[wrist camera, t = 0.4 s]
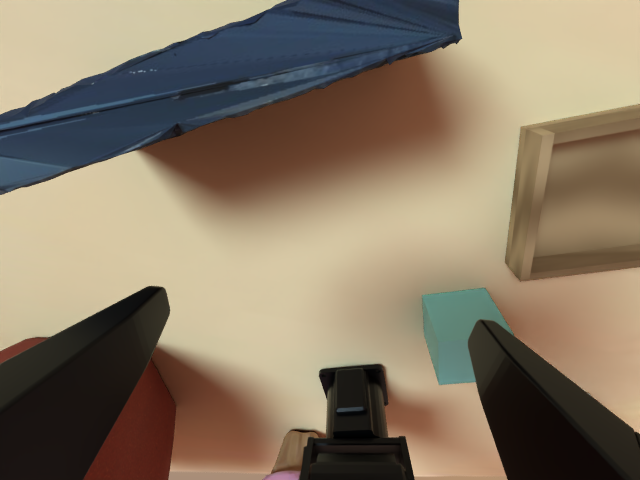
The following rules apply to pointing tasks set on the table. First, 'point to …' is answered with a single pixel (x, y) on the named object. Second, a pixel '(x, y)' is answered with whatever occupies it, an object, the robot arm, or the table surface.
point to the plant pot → (132, 429)
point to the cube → (455, 330)
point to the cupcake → (290, 456)
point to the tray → (577, 196)
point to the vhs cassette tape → (215, 80)
